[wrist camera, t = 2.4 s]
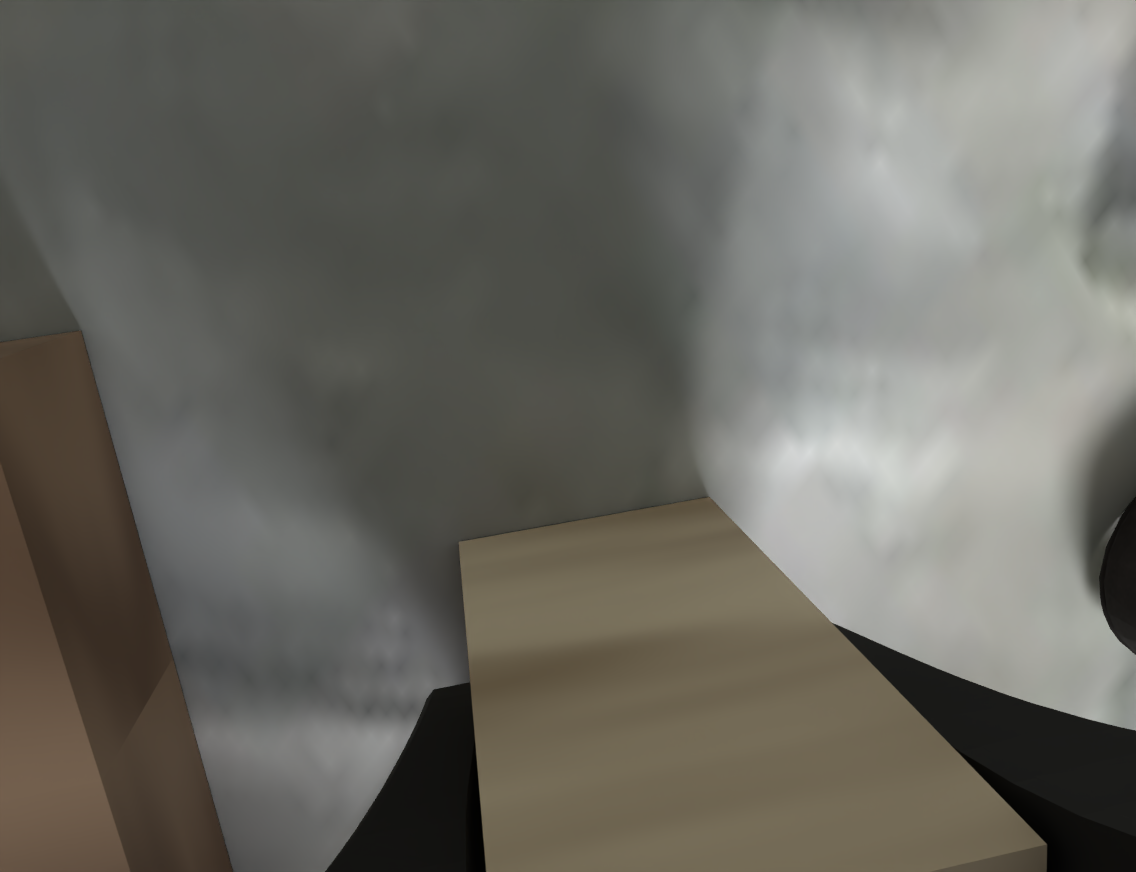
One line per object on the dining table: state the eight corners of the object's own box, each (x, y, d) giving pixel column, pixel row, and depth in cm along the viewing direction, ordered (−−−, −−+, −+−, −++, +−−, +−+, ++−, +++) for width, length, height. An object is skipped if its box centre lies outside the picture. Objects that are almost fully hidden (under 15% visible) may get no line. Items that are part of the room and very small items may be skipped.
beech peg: (730, 716, 15) (1040, 1243, 7) (497, 765, 15) (573, 1377, 7) (709, 497, 14) (1046, 845, 6) (458, 541, 14) (494, 973, 6)
